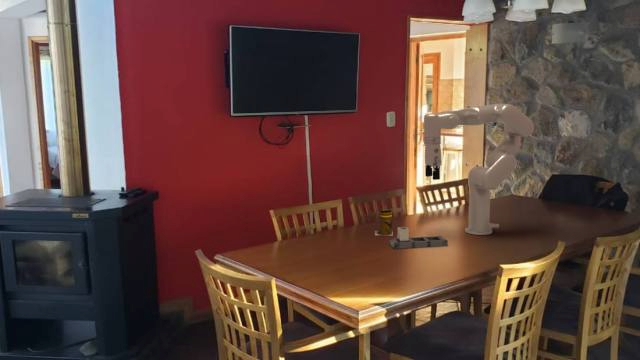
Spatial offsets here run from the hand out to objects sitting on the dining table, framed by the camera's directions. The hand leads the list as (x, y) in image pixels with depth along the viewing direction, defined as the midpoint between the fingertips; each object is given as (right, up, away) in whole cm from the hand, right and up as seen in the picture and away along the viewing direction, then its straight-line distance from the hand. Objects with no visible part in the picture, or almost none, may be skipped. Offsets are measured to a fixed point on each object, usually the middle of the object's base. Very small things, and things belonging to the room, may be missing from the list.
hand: (432, 177), depth 261 cm
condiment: (-21, -27, +10) cm, 36 cm away
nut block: (-15, -30, -11) cm, 36 cm away
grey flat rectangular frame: (-8, -30, -10) cm, 33 cm away
